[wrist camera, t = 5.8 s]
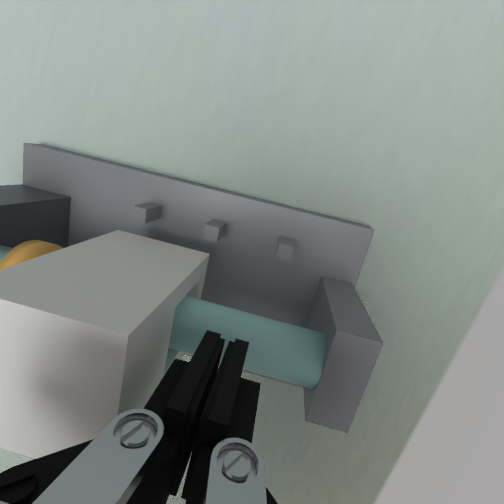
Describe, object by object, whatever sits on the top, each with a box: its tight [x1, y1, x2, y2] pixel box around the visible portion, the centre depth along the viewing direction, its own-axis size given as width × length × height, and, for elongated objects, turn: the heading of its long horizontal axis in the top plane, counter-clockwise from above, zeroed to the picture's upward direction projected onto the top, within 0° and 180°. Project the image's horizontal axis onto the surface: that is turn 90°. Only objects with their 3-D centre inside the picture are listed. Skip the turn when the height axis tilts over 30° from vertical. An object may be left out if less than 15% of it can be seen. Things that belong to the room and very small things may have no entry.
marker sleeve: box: [0, 230, 210, 459], centre depth 13 cm, size 5×5×8 cm
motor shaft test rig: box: [0, 143, 383, 433], centre depth 16 cm, size 21×11×9 cm, turn 77°
